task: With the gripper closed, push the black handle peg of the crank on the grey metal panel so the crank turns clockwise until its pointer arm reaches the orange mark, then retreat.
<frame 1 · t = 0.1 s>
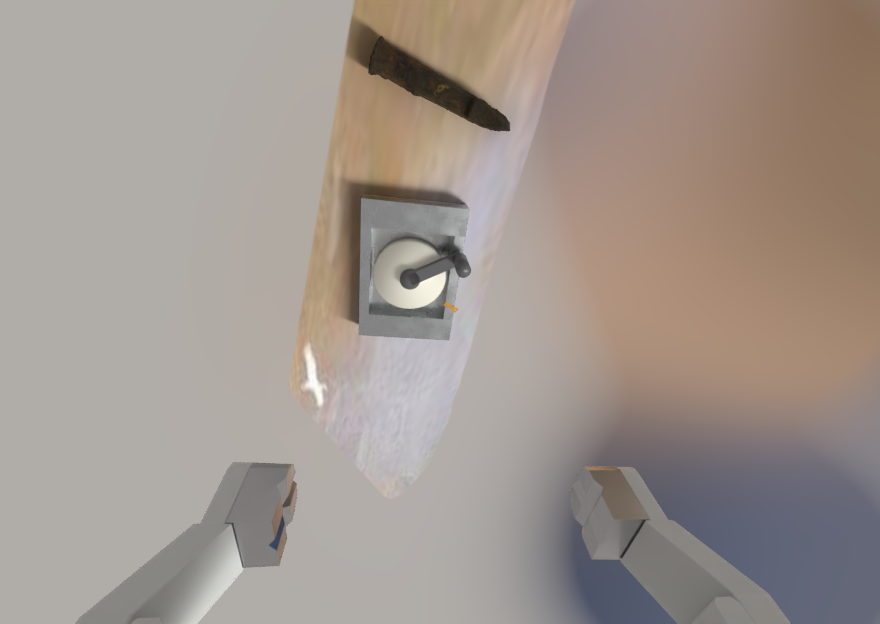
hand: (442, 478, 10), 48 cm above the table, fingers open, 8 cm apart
panel: (409, 269, 59), on the table
crank: (420, 277, 54), point 5 cm above the table, hinge at 30.0°
hand tool: (444, 90, 47), on the table
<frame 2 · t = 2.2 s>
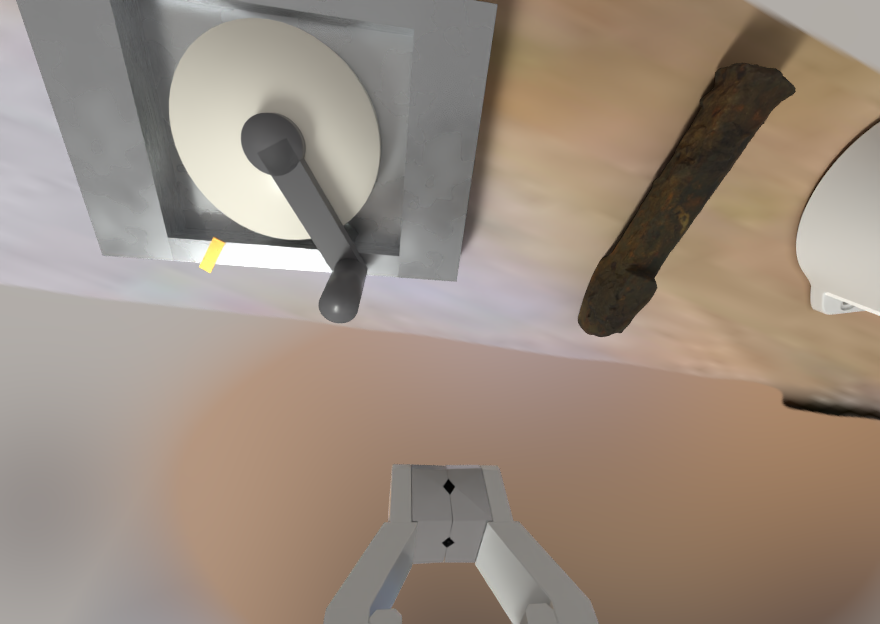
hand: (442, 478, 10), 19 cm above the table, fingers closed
panel: (293, 139, 23), on the table
crank: (287, 179, 19), point 5 cm above the table, hinge at 30.0°
hand tool: (647, 216, 28), on the table
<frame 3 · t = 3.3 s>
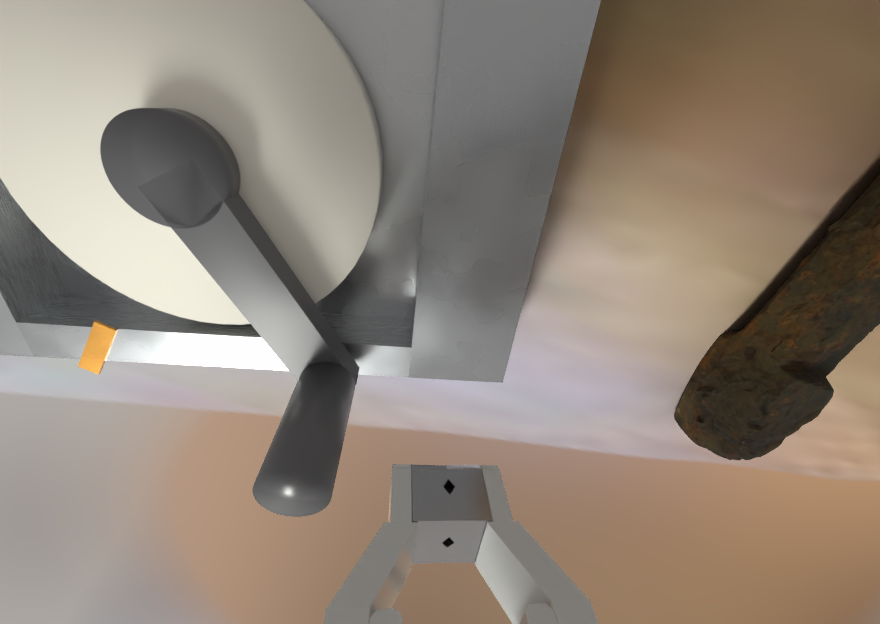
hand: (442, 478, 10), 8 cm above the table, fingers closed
panel: (234, 153, 13), on the table
crank: (199, 238, 10), point 5 cm above the table, hinge at 30.0°
hand tool: (799, 273, 18), on the table
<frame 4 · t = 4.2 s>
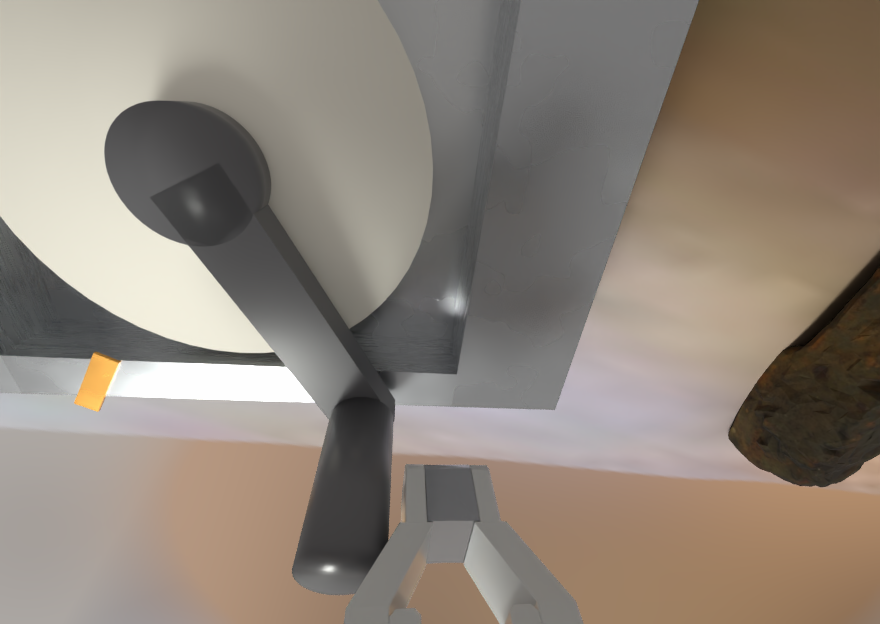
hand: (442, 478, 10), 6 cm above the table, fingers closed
panel: (255, 156, 12), on the table
crank: (225, 259, 8), point 5 cm above the table, hinge at 29.1°, touching gripper
hand tool: (867, 282, 17), on the table
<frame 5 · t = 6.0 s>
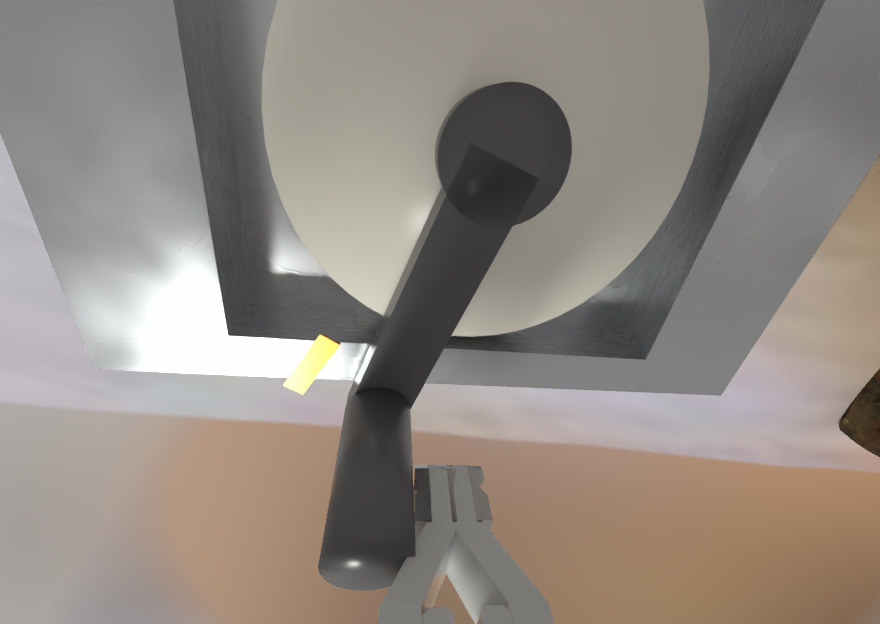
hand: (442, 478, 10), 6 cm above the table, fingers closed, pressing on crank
panel: (471, 143, 12), on the table
crank: (474, 239, 8), point 5 cm above the table, hinge at -17.4°, touching gripper
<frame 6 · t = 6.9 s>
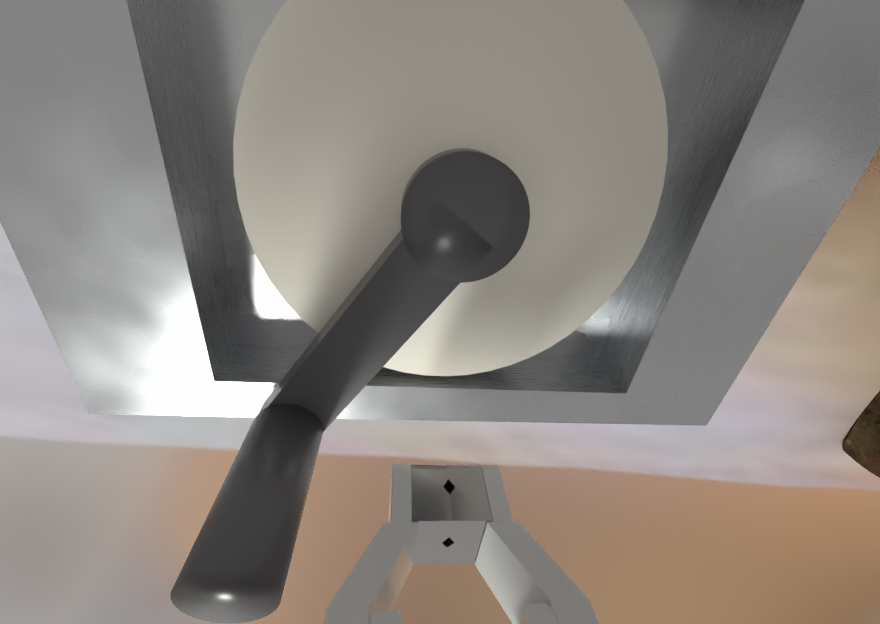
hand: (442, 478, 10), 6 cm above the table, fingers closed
panel: (447, 188, 12), on the table
crank: (419, 288, 9), point 5 cm above the table, hinge at -33.9°
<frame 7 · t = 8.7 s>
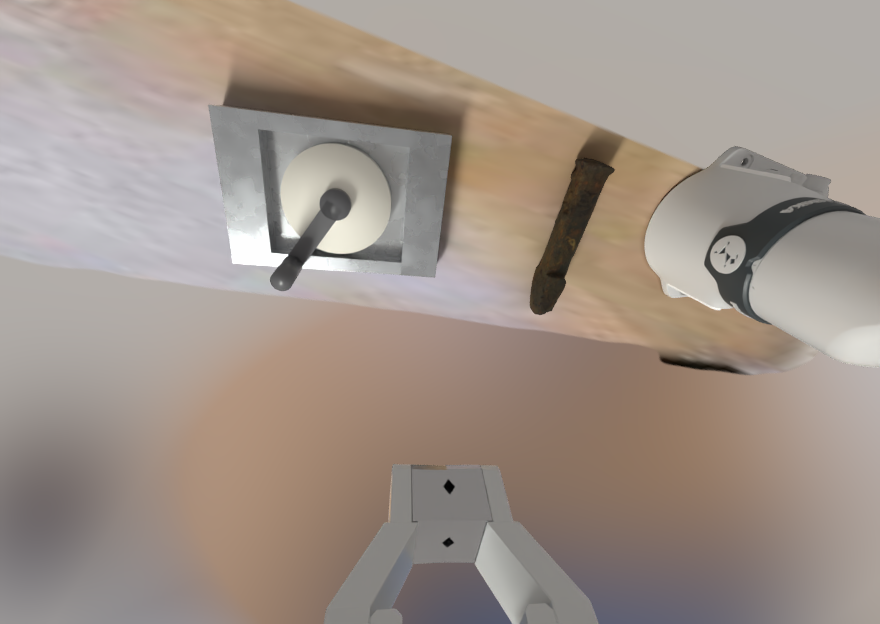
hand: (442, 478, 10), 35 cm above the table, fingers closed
panel: (340, 196, 40), on the table
crank: (324, 220, 37), point 5 cm above the table, hinge at -34.0°
hand tool: (559, 239, 46), on the table
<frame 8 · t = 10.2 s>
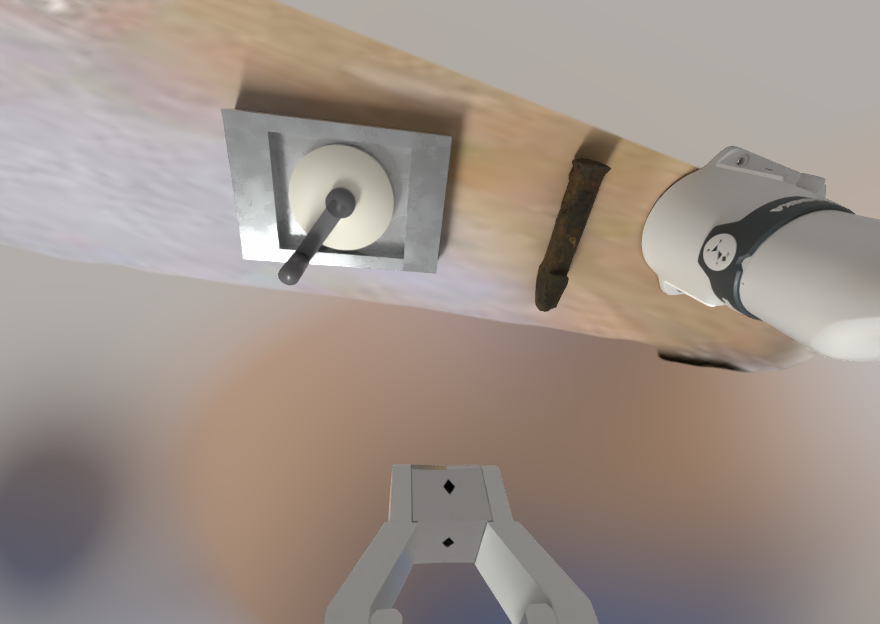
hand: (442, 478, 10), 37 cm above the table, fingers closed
panel: (346, 195, 42), on the table
crank: (329, 218, 38), point 5 cm above the table, hinge at -34.0°
hand tool: (561, 237, 47), on the table
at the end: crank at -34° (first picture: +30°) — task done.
